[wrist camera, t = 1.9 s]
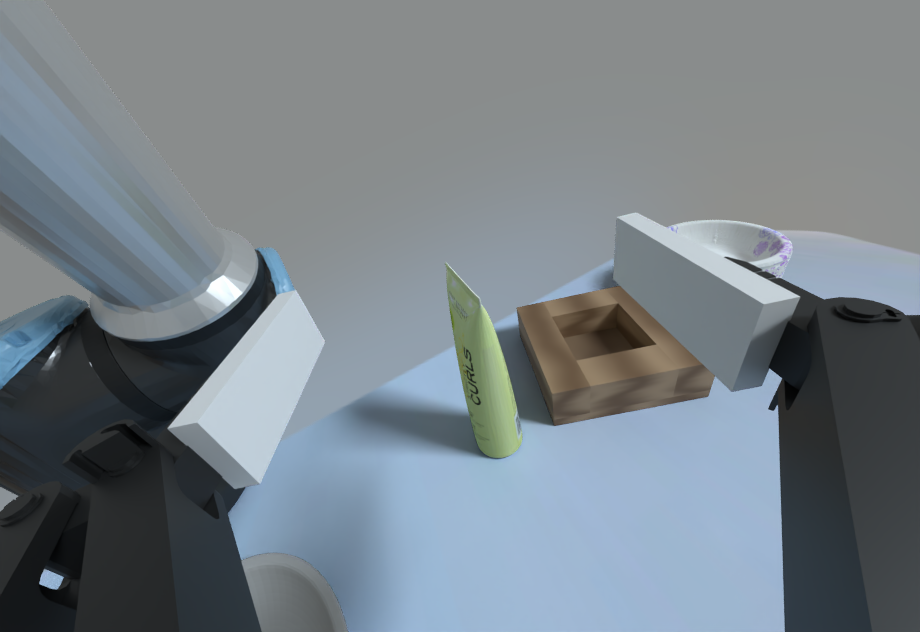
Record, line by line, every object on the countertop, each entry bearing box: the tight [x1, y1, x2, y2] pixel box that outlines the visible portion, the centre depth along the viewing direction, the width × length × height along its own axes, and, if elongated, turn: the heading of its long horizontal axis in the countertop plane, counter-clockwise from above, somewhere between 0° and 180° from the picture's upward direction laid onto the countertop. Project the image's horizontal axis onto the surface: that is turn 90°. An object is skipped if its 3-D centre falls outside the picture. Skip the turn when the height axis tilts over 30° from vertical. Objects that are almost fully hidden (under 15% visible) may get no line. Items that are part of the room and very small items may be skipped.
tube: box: [445, 262, 522, 458], centre depth 29 cm, size 6×5×20 cm
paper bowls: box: [666, 220, 793, 278], centre depth 46 cm, size 15×15×8 cm
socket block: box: [517, 286, 715, 426], centre depth 39 cm, size 16×16×5 cm
